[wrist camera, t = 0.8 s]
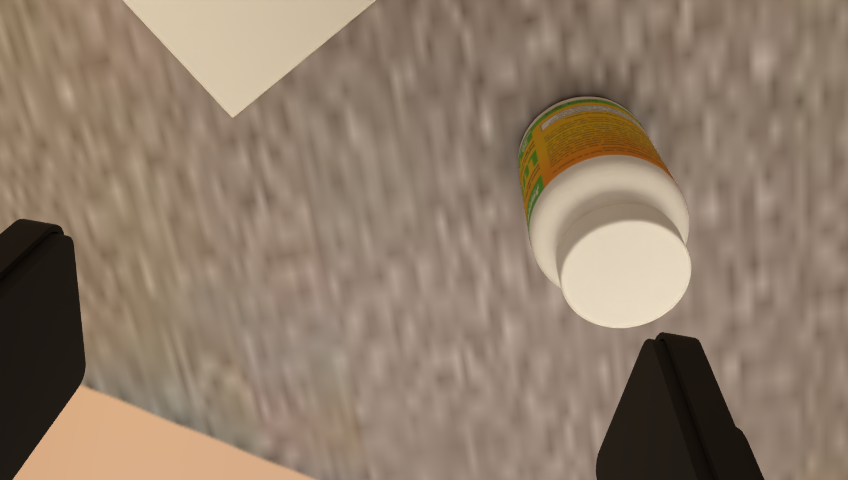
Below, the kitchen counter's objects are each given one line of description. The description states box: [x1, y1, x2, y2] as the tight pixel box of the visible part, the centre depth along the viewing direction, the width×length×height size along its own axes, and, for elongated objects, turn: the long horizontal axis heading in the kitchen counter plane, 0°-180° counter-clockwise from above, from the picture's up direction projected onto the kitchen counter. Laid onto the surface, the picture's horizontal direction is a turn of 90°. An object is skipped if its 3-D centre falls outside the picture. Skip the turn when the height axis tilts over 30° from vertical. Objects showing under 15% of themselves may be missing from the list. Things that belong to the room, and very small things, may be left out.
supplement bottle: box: [518, 97, 691, 328], centre depth 35 cm, size 7×7×13 cm
